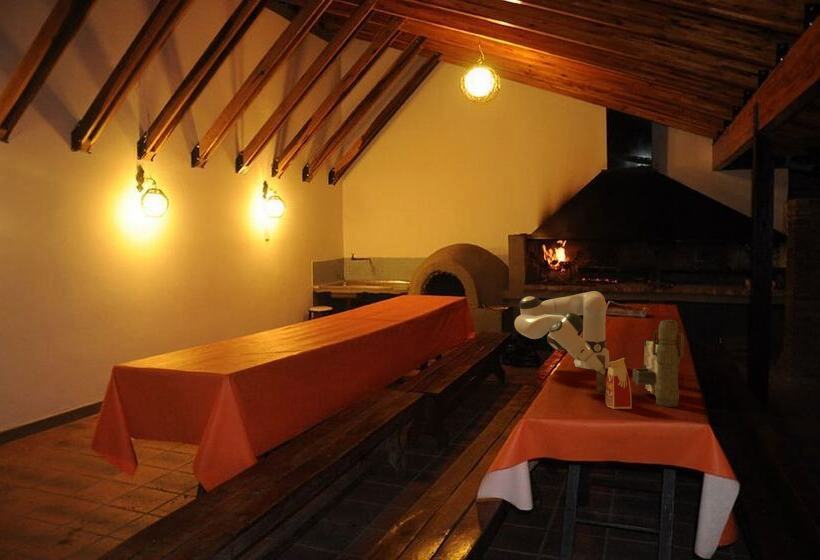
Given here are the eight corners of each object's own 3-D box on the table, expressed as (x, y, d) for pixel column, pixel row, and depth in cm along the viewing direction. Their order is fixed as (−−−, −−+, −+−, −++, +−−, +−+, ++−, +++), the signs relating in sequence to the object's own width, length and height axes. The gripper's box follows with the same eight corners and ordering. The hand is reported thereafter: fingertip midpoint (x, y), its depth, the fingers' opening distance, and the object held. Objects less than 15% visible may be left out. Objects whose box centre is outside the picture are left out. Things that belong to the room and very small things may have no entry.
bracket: (628, 389, 289) (629, 341, 287) (648, 388, 289) (648, 340, 287) (642, 399, 273) (642, 348, 271) (662, 398, 273) (663, 347, 271)
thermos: (681, 408, 258) (683, 322, 255) (650, 404, 264) (651, 320, 261) (684, 403, 266) (685, 319, 263) (654, 399, 272) (655, 317, 269)
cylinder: (595, 390, 289) (595, 355, 287) (603, 389, 289) (603, 354, 287) (597, 392, 285) (598, 356, 283) (605, 392, 285) (606, 356, 284)
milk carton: (624, 402, 269) (624, 355, 267) (632, 408, 259) (633, 360, 258) (602, 403, 268) (603, 355, 267) (610, 409, 259) (610, 360, 257)
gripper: (569, 350, 296) (590, 371, 297) (581, 360, 275) (604, 382, 276) (578, 340, 295) (599, 361, 296) (592, 349, 275) (614, 371, 276)
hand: (602, 371), depth 286 cm, fingers open, 5 cm apart
